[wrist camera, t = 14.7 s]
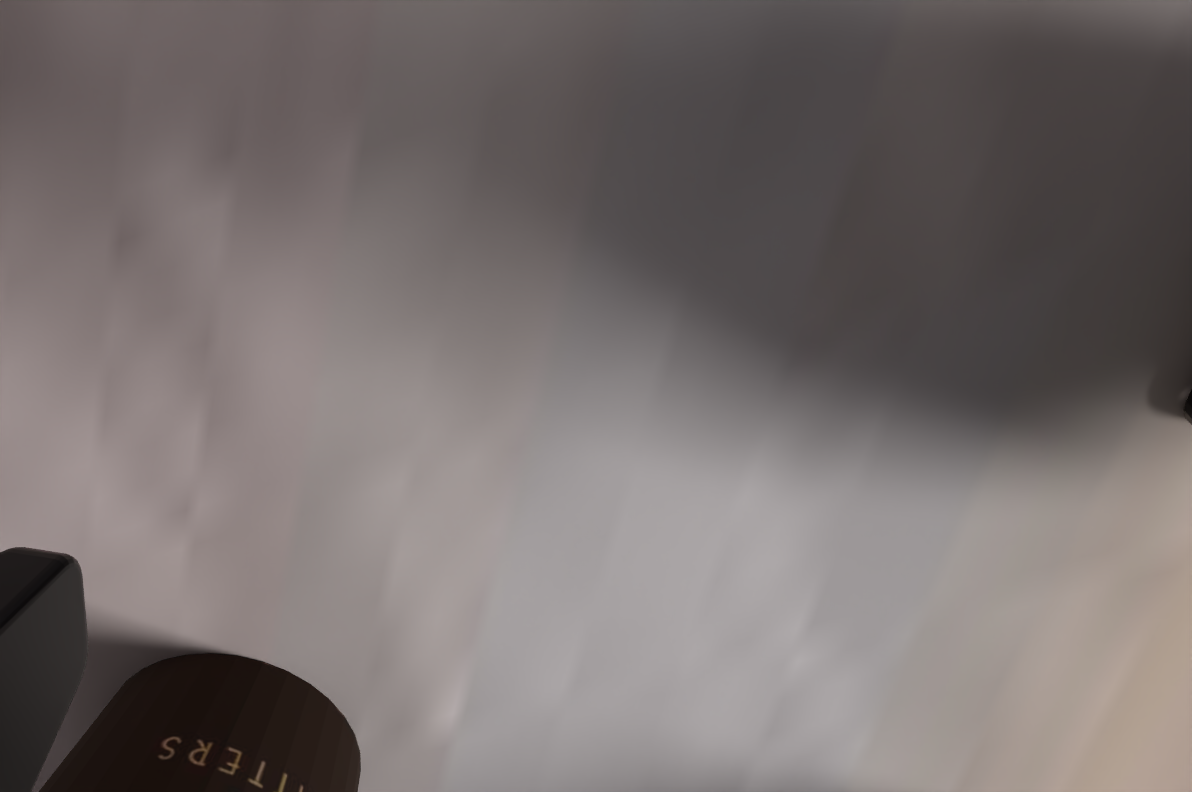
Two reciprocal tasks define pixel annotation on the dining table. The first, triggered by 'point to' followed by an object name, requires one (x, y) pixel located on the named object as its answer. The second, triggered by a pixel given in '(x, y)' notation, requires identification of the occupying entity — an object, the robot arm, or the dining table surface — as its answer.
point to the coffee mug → (213, 734)
